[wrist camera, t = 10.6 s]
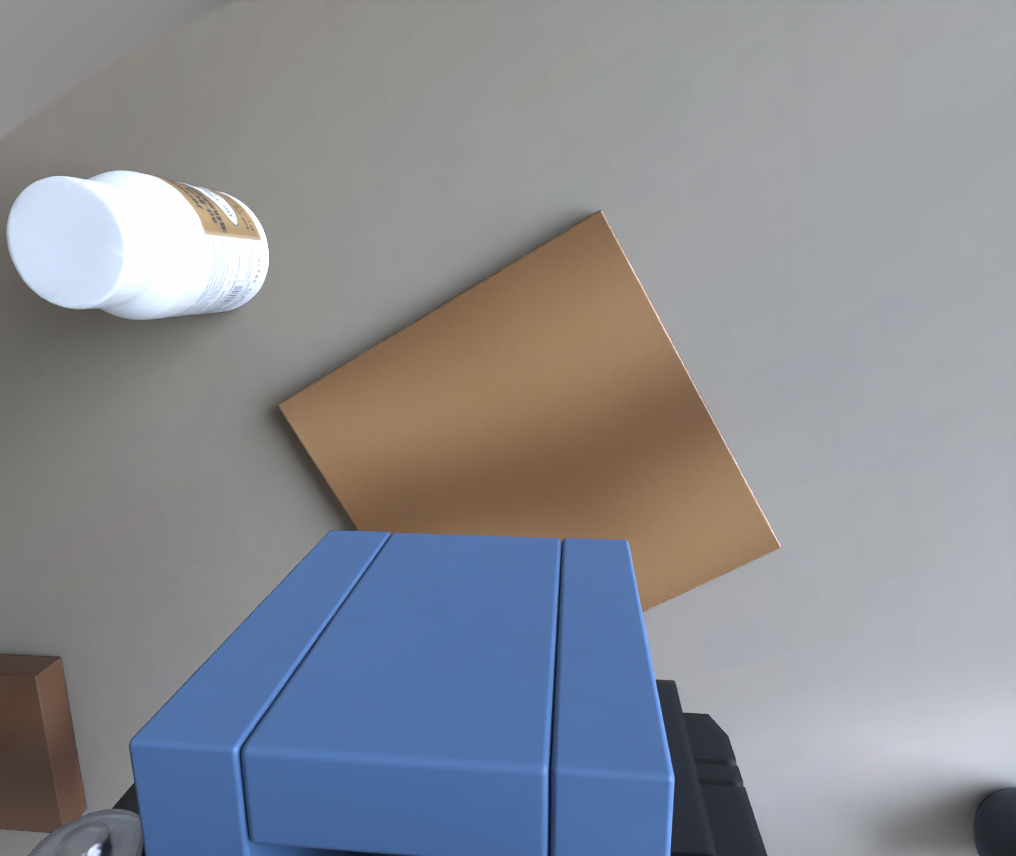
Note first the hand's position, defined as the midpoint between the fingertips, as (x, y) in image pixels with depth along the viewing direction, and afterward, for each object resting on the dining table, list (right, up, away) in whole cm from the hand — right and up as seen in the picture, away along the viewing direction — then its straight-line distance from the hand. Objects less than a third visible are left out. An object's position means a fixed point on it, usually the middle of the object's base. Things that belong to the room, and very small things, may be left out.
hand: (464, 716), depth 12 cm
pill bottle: (-10, +12, +14) cm, 21 cm away
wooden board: (+1, +3, +14) cm, 15 cm away
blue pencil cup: (0, 0, +1) cm, 1 cm away
